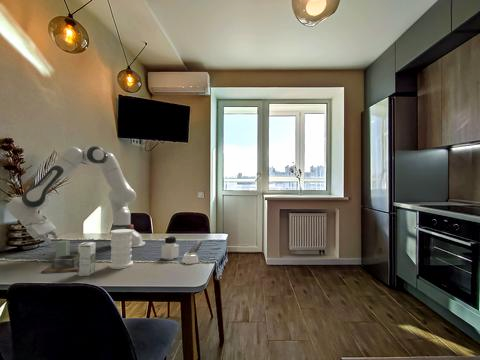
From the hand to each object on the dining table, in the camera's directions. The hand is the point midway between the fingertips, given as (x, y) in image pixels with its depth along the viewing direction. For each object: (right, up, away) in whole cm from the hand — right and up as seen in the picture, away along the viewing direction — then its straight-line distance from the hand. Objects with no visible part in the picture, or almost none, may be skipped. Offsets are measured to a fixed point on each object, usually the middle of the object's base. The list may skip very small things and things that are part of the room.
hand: (53, 239), depth 160 cm
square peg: (+5, -11, +1) cm, 12 cm away
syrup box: (+31, -11, -24) cm, 40 cm away
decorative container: (+41, -12, -10) cm, 44 cm away
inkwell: (+77, -12, +3) cm, 78 cm away
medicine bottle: (+62, -12, +7) cm, 64 cm away
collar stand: (+15, -11, -14) cm, 23 cm away
